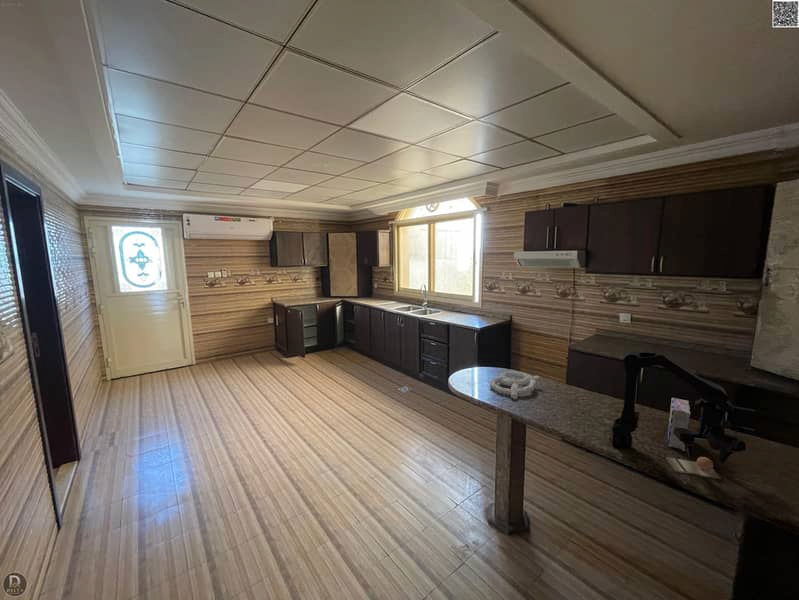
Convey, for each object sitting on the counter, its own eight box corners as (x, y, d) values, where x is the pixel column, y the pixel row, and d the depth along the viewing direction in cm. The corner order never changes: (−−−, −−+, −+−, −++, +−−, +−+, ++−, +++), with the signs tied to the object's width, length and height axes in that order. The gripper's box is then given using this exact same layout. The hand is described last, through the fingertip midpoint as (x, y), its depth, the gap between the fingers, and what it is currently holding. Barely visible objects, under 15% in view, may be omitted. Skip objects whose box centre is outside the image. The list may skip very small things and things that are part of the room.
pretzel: (520, 405, 173) (519, 394, 171) (483, 392, 191) (482, 382, 190) (546, 385, 190) (545, 374, 188) (510, 374, 208) (509, 365, 207)
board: (675, 471, 118) (675, 469, 118) (666, 458, 126) (666, 456, 126) (720, 479, 114) (721, 477, 114) (708, 465, 121) (708, 463, 121)
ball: (700, 471, 117) (701, 460, 117) (693, 464, 121) (694, 453, 121) (715, 474, 116) (716, 462, 115) (708, 466, 120) (709, 455, 119)
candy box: (667, 431, 144) (671, 396, 141) (684, 436, 140) (689, 400, 138) (667, 446, 133) (671, 408, 131) (686, 451, 130) (691, 413, 127)
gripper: (690, 427, 111) (684, 468, 114) (761, 436, 105) (754, 480, 108) (675, 411, 122) (670, 450, 124) (739, 419, 116) (732, 460, 118)
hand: (705, 460), depth 118 cm, fingers open, 9 cm apart
